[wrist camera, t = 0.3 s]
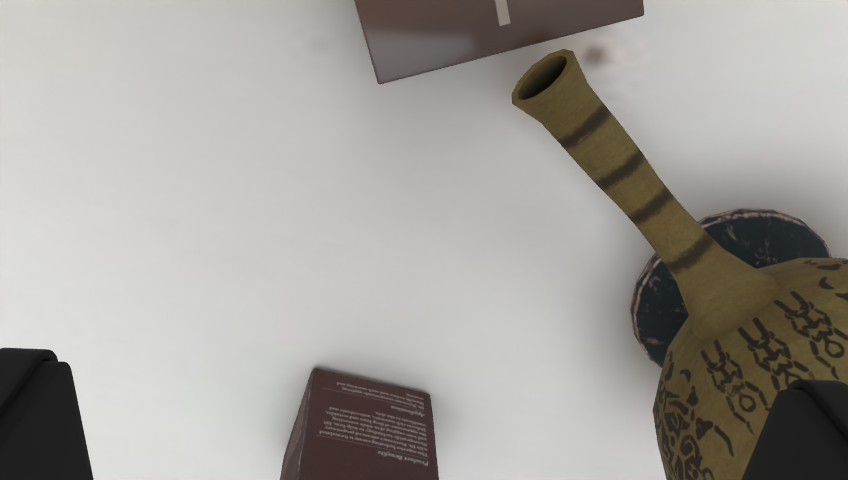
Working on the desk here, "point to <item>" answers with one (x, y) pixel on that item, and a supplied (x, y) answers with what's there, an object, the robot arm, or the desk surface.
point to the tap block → (472, 29)
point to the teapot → (704, 289)
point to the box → (360, 432)
